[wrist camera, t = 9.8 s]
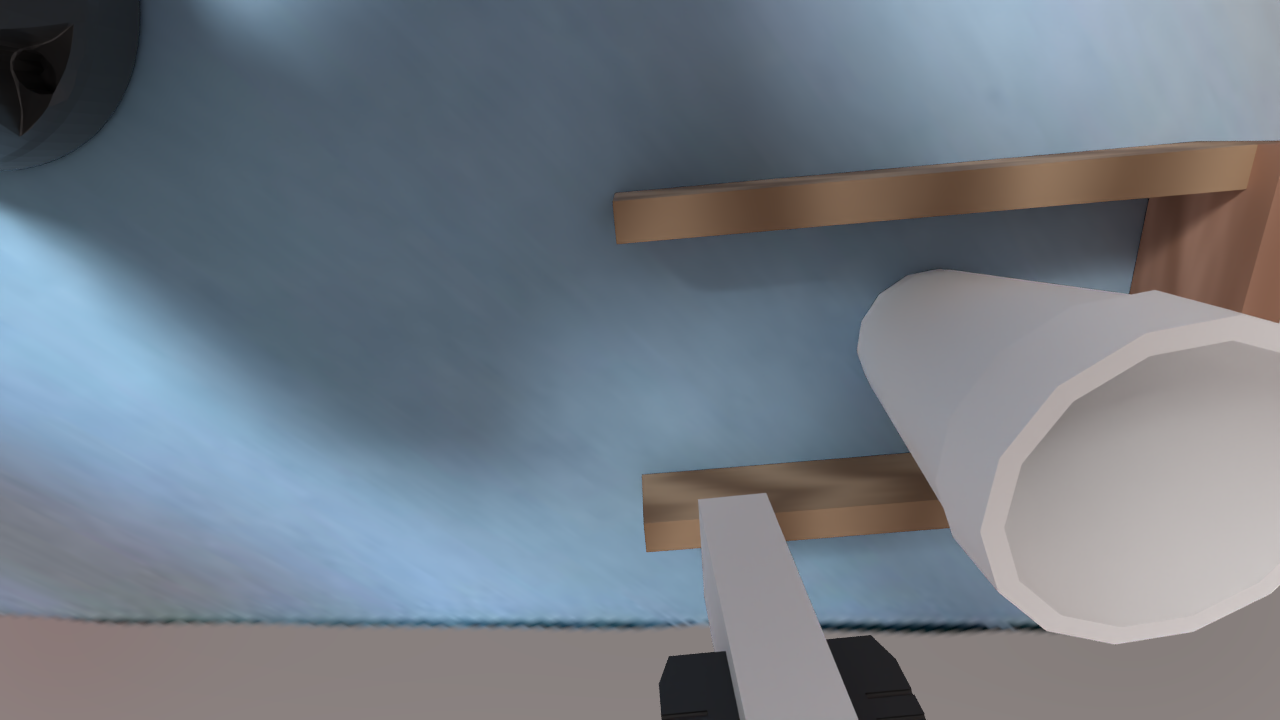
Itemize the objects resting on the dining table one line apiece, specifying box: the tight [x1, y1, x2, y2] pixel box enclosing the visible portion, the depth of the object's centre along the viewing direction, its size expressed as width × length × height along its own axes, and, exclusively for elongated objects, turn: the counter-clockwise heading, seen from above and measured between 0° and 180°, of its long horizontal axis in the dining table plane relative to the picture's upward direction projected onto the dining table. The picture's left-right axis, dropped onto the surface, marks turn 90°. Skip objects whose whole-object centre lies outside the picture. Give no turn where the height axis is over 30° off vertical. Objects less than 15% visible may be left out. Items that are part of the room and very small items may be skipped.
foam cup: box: [857, 269, 1280, 645], centre depth 21 cm, size 10×9×13 cm
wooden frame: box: [612, 141, 1280, 552], centre depth 25 cm, size 24×15×5 cm, turn 95°
